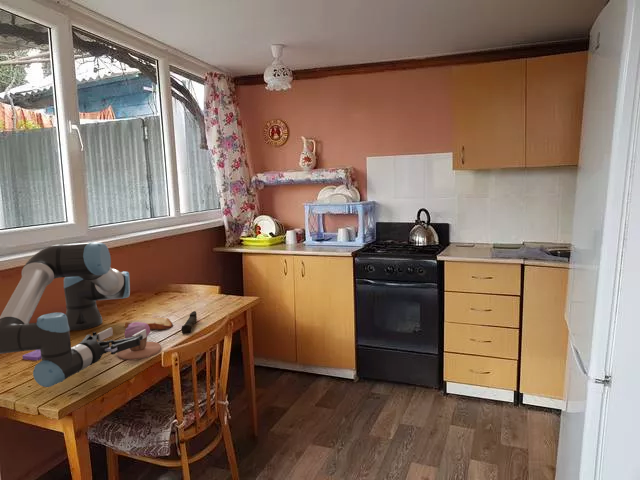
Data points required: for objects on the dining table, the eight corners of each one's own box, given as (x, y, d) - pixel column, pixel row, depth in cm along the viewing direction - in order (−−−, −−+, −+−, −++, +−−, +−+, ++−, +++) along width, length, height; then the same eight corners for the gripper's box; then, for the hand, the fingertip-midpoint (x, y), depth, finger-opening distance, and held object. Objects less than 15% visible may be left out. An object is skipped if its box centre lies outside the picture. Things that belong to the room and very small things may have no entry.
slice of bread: (122, 326, 201) (121, 317, 200) (165, 318, 210) (164, 310, 209) (129, 337, 185) (129, 328, 185) (175, 328, 195) (174, 320, 194)
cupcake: (129, 345, 173) (127, 319, 171) (153, 343, 174) (151, 317, 172) (123, 354, 164) (120, 327, 162) (148, 352, 165) (146, 325, 164)
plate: (107, 356, 165) (107, 354, 165) (138, 342, 179) (138, 339, 179) (140, 362, 159) (140, 359, 159) (169, 346, 173) (169, 344, 173)
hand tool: (191, 334, 187) (190, 323, 186) (181, 334, 187) (180, 323, 186) (202, 319, 206) (201, 309, 205) (192, 320, 206) (192, 310, 205)
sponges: (22, 360, 166) (21, 355, 166) (52, 347, 178) (51, 342, 178) (37, 362, 164) (37, 356, 164) (66, 348, 176) (66, 344, 175)
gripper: (51, 364, 145) (99, 340, 166) (119, 369, 139) (160, 344, 159) (48, 341, 144) (96, 320, 165) (117, 345, 138) (158, 323, 158)
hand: (128, 332), depth 162 cm, fingers open, 13 cm apart
